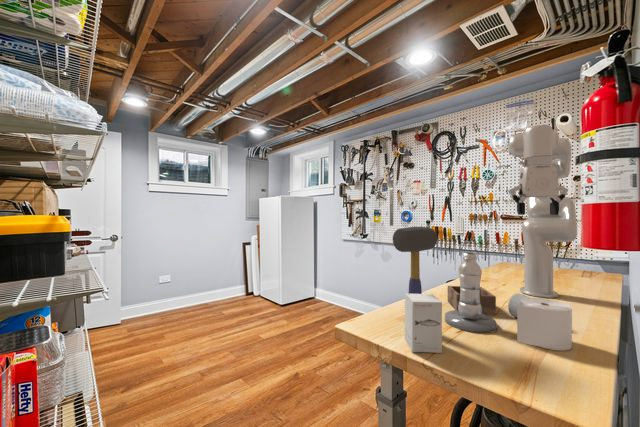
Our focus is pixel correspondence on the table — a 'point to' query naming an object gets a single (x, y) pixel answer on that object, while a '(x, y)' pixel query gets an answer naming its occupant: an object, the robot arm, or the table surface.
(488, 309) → the holder
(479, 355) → the table surface
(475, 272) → the plastic bottle
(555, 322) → the toilet tissue
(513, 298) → the ceramic mug
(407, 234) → the rubber mallet
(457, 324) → the plate
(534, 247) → the robot arm
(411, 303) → the supplement box
